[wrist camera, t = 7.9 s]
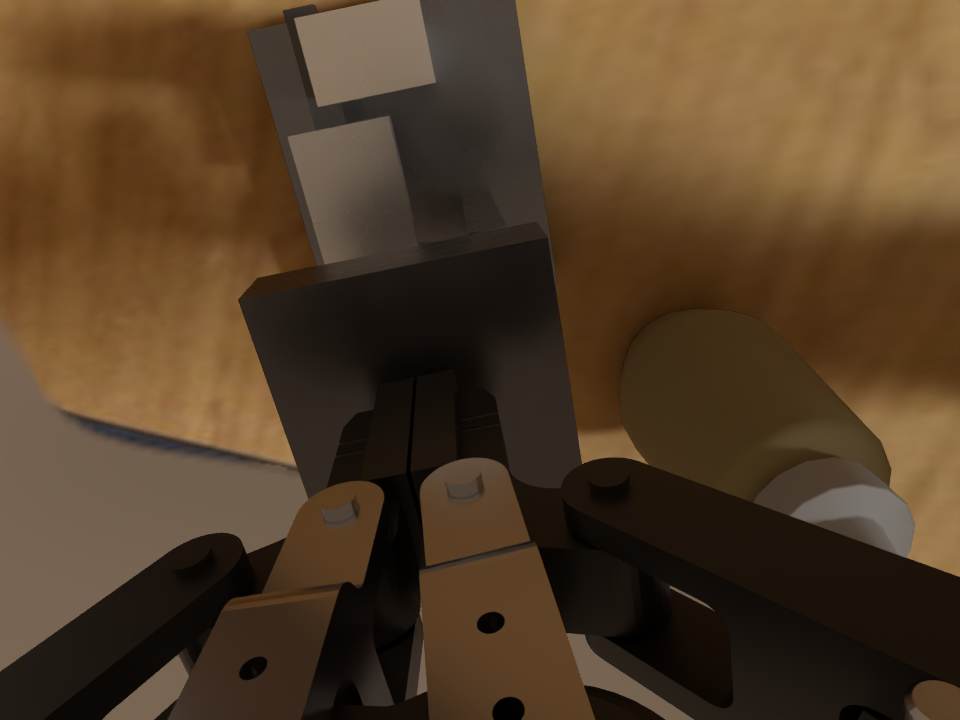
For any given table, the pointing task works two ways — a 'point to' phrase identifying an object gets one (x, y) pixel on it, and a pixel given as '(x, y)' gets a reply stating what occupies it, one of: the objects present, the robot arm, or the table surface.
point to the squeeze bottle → (757, 425)
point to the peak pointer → (323, 114)
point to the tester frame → (420, 104)
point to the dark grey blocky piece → (407, 313)
